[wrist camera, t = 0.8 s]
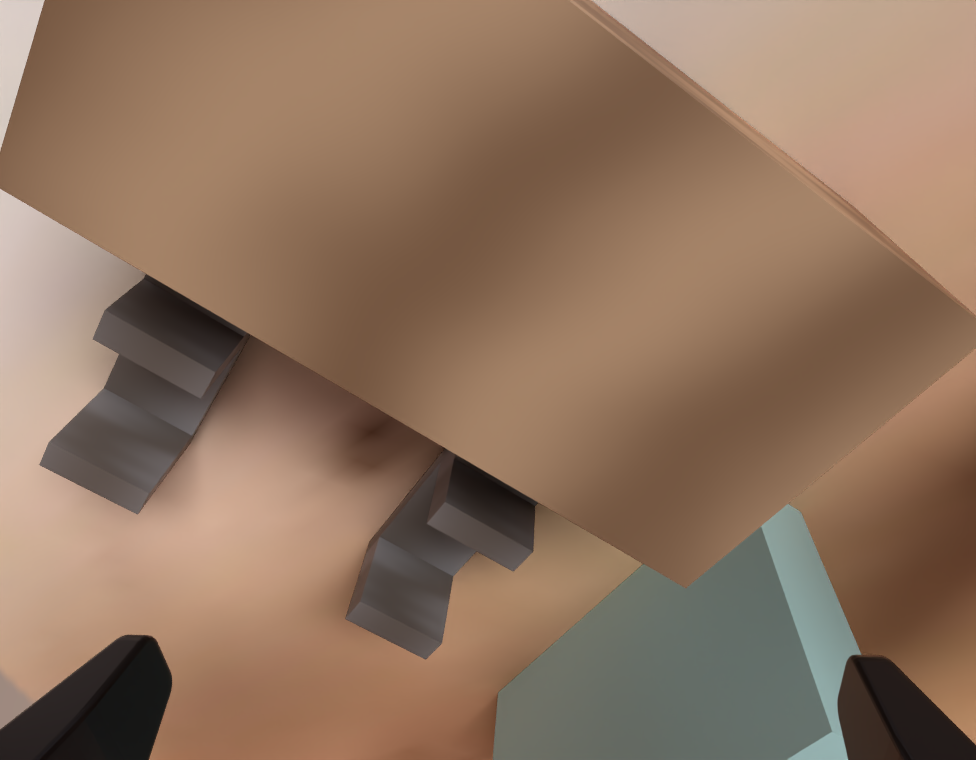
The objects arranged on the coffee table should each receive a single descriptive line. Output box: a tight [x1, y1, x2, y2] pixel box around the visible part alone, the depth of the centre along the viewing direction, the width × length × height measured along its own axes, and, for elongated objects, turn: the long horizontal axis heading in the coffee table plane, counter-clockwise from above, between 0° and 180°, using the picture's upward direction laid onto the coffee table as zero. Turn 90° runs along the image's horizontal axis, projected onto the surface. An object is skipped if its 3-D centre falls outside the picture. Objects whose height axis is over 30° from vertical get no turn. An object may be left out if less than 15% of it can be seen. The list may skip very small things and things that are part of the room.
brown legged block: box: [0, 0, 976, 659], centre depth 18 cm, size 16×18×7 cm
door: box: [493, 504, 861, 760], centre depth 23 cm, size 14×4×9 cm, turn 146°
